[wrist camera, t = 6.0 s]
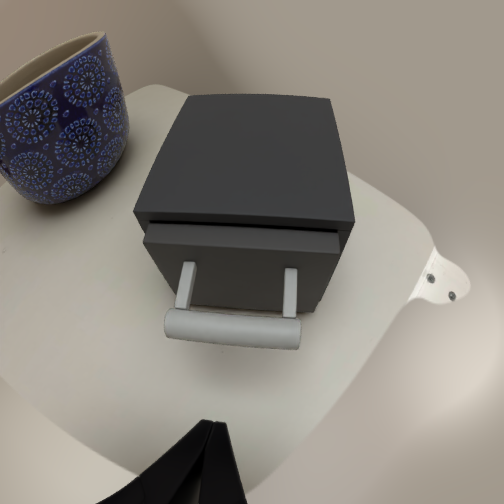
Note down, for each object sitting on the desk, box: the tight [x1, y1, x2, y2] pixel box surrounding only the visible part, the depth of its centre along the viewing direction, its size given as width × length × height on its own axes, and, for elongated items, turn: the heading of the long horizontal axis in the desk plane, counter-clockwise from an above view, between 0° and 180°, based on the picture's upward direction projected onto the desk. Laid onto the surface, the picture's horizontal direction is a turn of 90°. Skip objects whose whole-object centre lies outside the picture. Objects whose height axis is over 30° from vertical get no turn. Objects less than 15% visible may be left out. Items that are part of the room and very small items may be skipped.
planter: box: [0, 32, 129, 204], centre depth 23 cm, size 16×16×15 cm
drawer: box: [143, 221, 340, 350], centre depth 18 cm, size 14×9×8 cm, turn 175°
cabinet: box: [133, 94, 355, 301], centre depth 20 cm, size 11×10×9 cm
